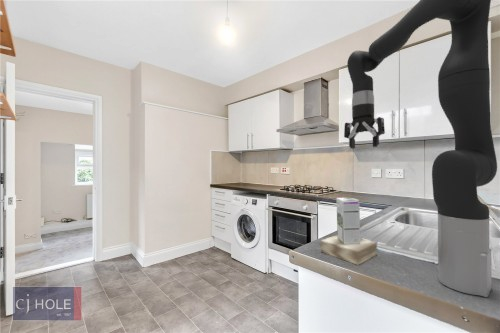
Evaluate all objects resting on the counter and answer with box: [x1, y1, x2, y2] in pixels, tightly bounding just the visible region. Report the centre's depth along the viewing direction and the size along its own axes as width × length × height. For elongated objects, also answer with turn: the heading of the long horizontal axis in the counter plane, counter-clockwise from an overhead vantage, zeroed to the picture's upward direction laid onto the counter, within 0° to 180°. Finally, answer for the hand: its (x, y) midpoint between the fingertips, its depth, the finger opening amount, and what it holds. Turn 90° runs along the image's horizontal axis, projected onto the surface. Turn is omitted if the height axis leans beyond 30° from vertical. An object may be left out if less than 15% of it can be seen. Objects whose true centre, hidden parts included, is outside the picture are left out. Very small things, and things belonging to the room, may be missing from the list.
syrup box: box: [336, 196, 361, 244], centre depth 76 cm, size 6×6×14 cm
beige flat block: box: [320, 234, 378, 266], centre depth 76 cm, size 13×12×4 cm
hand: (363, 147), depth 86 cm, fingers open, 8 cm apart
